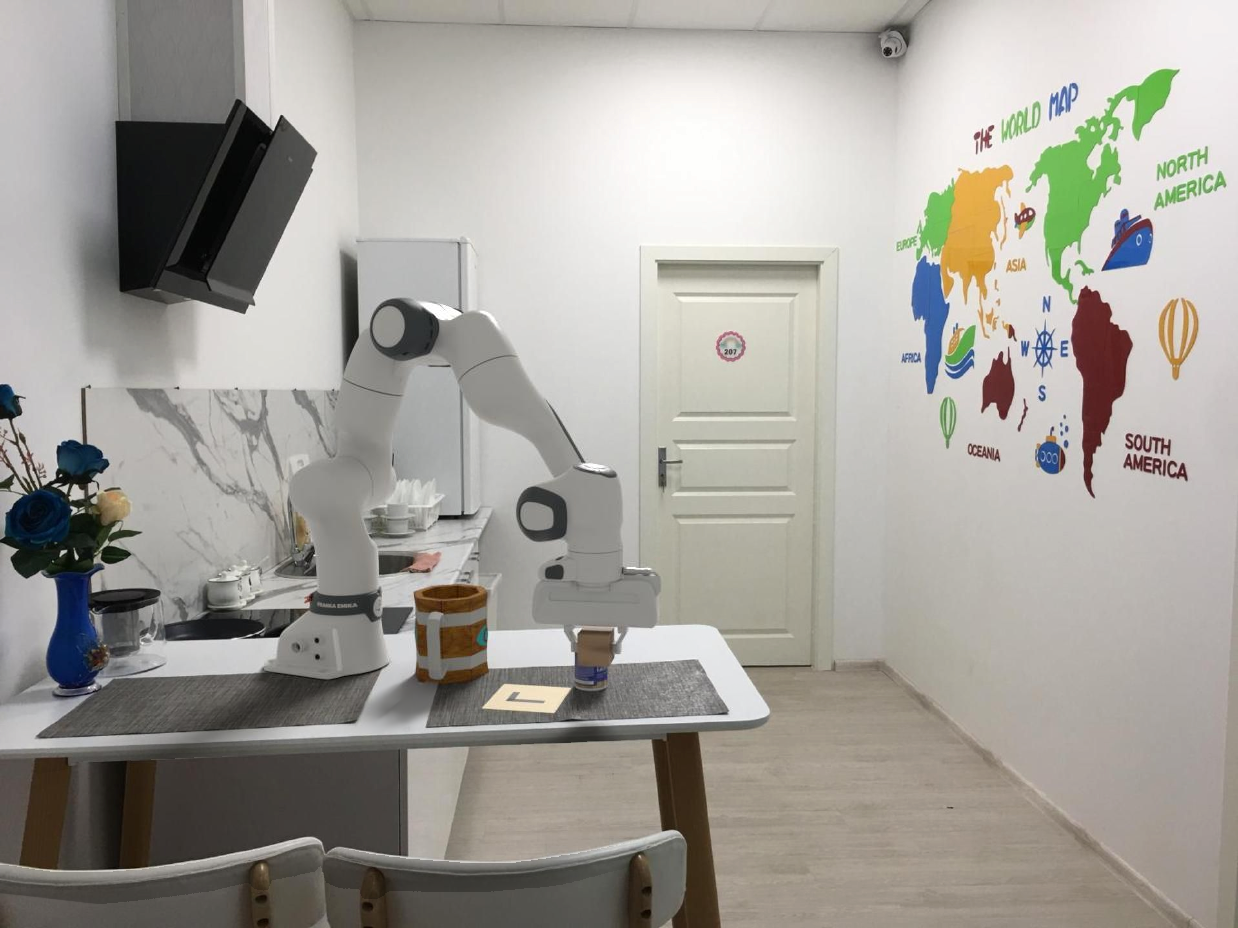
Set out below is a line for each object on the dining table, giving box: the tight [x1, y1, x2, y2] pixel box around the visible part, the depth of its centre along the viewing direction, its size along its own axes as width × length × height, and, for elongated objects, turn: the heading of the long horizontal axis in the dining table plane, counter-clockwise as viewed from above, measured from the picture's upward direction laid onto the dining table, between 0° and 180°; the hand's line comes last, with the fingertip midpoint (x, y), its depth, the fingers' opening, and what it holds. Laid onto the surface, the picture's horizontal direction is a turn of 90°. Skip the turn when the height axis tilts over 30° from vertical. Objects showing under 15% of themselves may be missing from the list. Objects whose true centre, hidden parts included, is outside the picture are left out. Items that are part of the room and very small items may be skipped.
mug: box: [413, 583, 490, 685], centre depth 160 cm, size 20×14×15 cm
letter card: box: [481, 683, 572, 714], centre depth 150 cm, size 12×12×1 cm
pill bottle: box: [574, 628, 609, 692], centre depth 156 cm, size 6×6×10 cm
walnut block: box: [576, 626, 616, 668], centre depth 144 cm, size 5×5×5 cm
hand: (596, 652), depth 144 cm, fingers closed on walnut block, 5 cm apart
